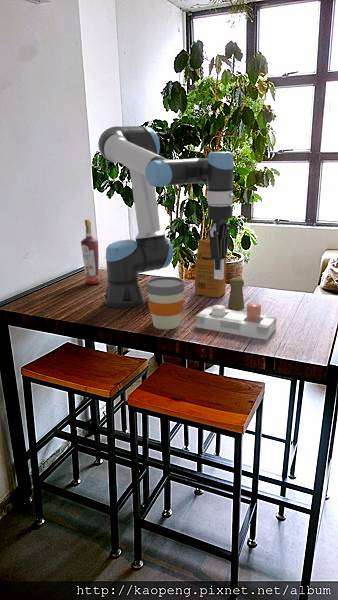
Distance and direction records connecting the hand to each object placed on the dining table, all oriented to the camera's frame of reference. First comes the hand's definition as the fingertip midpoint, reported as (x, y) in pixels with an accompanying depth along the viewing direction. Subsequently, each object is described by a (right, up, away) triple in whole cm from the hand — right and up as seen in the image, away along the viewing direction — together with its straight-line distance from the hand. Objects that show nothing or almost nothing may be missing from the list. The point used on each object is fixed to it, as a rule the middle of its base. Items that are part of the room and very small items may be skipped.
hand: (218, 278), depth 146 cm
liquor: (-50, 0, +55) cm, 74 cm away
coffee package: (0, -5, +37) cm, 37 cm away
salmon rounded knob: (+11, -13, -2) cm, 17 cm away
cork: (+9, -10, +21) cm, 25 cm away
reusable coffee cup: (-17, -15, +7) cm, 24 cm away
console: (+6, -16, +2) cm, 17 cm away
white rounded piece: (0, -13, +5) cm, 14 cm away
